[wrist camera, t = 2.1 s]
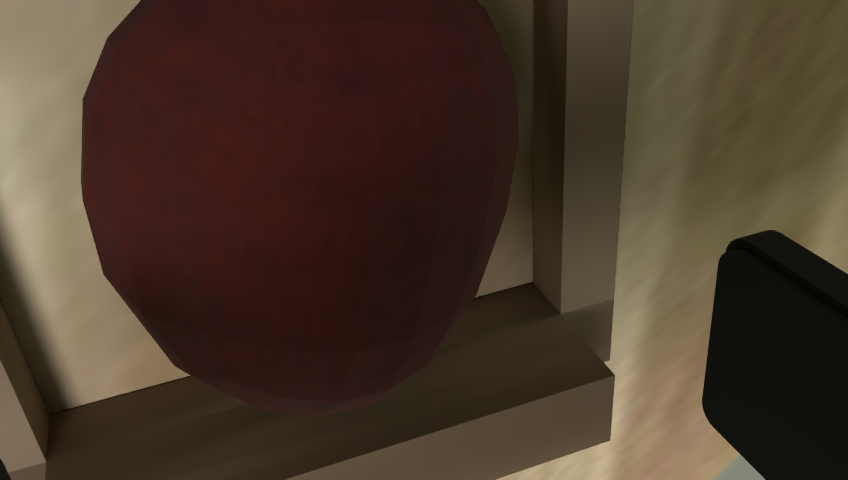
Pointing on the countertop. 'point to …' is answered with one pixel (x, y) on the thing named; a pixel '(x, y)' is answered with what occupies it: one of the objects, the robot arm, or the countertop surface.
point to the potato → (299, 186)
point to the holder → (452, 364)
